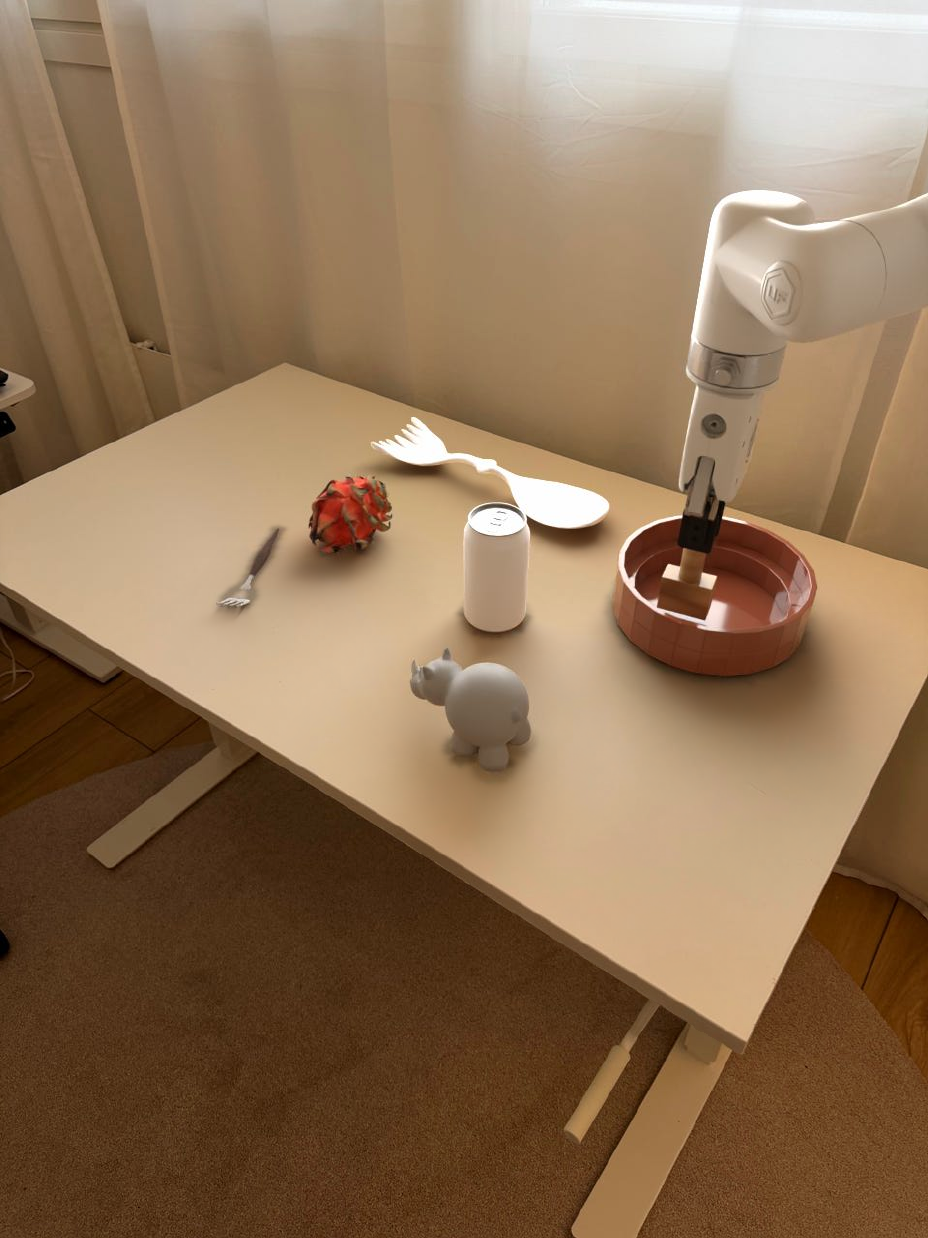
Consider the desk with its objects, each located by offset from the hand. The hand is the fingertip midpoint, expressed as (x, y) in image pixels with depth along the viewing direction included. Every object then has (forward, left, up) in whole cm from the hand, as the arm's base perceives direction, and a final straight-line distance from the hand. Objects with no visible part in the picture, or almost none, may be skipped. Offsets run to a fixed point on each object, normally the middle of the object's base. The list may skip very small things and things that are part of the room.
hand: (698, 539), depth 85 cm
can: (+18, +7, -10) cm, 22 cm away
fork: (+45, +11, -11) cm, 48 cm away
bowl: (-2, -2, -10) cm, 11 cm away
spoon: (+28, -15, -10) cm, 33 cm away
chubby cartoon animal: (+14, +23, -10) cm, 29 cm away
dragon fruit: (+38, +2, -10) cm, 39 cm away
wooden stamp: (0, 0, -9) cm, 9 cm away
